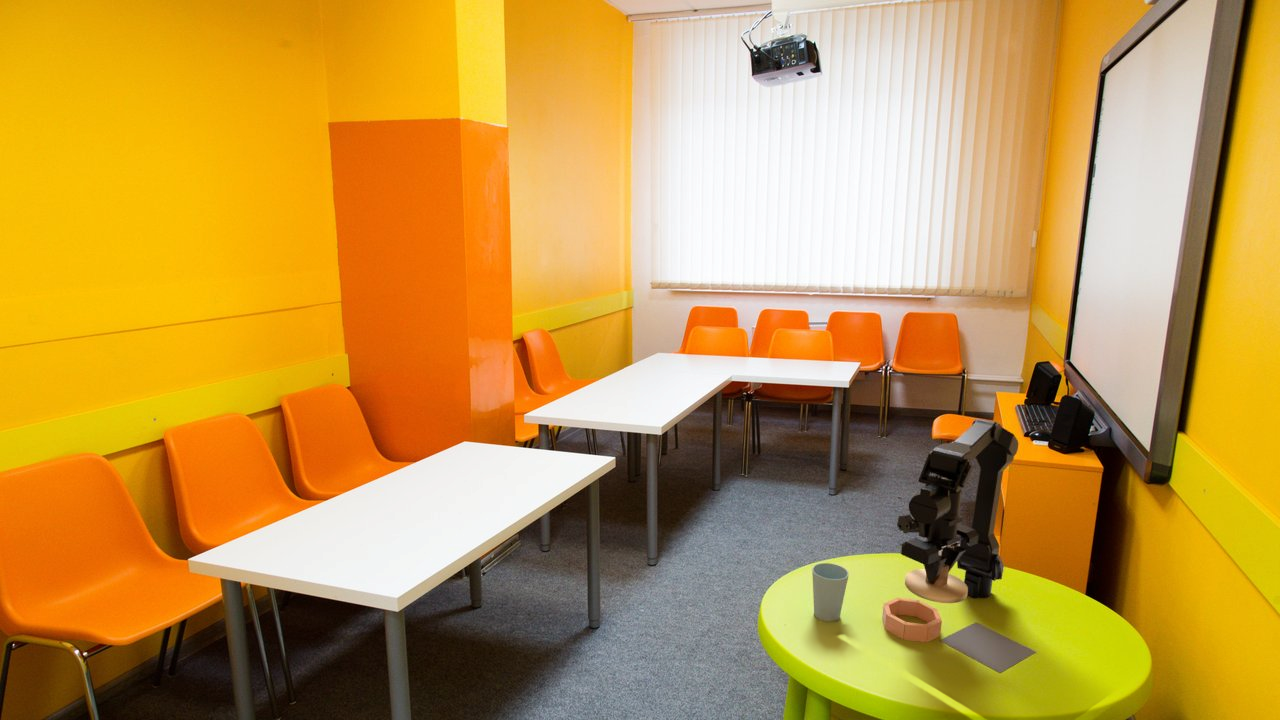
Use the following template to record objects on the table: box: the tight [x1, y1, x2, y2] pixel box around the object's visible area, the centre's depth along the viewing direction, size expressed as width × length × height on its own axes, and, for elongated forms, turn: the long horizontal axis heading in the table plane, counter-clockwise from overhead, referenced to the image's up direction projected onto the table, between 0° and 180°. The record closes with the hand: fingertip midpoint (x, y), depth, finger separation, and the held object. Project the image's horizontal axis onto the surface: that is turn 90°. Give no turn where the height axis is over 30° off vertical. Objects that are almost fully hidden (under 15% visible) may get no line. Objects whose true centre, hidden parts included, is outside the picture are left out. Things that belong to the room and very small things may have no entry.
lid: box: [904, 564, 968, 604], centre depth 152 cm, size 12×12×5 cm
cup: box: [811, 562, 850, 622], centre depth 162 cm, size 8×8×10 cm
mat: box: [939, 621, 1037, 674], centre depth 150 cm, size 13×13×1 cm
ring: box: [881, 597, 943, 643], centre depth 157 cm, size 11×11×4 cm
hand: (936, 581), depth 153 cm, fingers closed on lid, 3 cm apart
